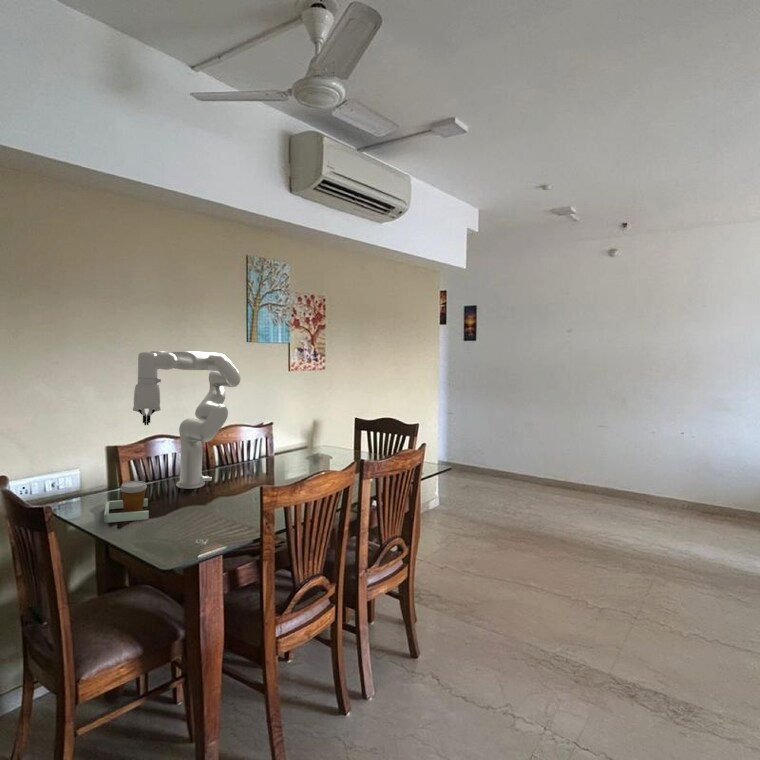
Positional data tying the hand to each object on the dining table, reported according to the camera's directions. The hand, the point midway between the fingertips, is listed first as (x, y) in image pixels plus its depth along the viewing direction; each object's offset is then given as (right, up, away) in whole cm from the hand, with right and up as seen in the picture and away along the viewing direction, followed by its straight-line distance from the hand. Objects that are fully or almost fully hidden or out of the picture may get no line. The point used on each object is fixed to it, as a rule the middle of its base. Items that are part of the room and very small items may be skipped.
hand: (146, 424), depth 221 cm
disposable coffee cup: (+2, -34, -16) cm, 38 cm away
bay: (0, -34, -16) cm, 37 cm away
